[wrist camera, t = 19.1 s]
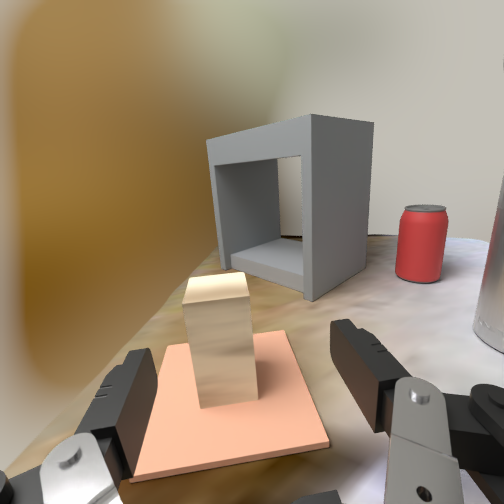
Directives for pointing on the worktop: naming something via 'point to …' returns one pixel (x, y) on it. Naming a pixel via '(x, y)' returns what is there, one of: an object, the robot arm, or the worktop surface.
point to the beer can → (421, 243)
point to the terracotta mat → (229, 416)
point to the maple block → (221, 339)
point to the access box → (313, 201)
